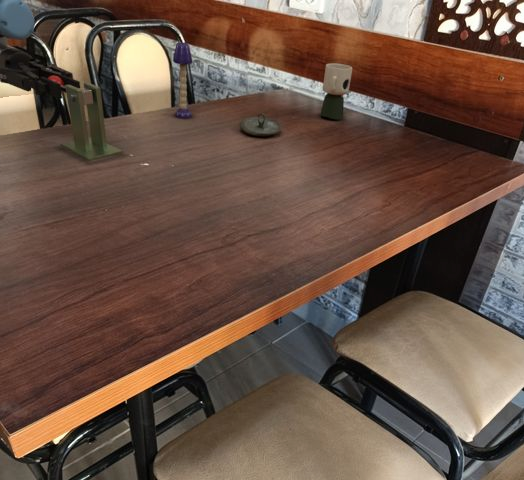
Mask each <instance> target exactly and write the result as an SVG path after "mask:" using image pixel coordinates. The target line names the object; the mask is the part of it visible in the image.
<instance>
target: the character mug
mask: <svg viewBox="0 0 524 480" xmlns="http://www.w3.org/2000/svg"><path fill="white" fill-rule="evenodd" d="M352 75H353V67H352V66H351V65H348V64H343V63H333V62H332V63H326V64H325V70H324V75H323V76H324V77H323V84H322V91H323V92H324V93H326V94H325V95H324V97H323V102H322V105H321V109H320V110H321V111H320V114H319V115H320V116H321V117H325V118H328V119H329V120H341V119H343V117H344V104H345V103H344V102H345V99H344V95H348V94H349V91H350V87H351V80H352Z"/></svg>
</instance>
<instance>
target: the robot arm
mask: <svg viewBox="0 0 524 480" xmlns="http://www.w3.org/2000/svg"><path fill="white" fill-rule="evenodd" d="M35 23H36V21H35V15H34V13H33V11H32V9H31V8H30V6H29V5H28V4H27V3H26V2H25V1H24V0H0V83H3V84H8V85H10V86H12V87H15V88H17V89H20V90H22V91H25V92H31V91H32V89H33V90H34V91H35V92H34V93H35V95H36V96H41V95H43V93H45V94H47V95H49V96H51V97H54V98H56V99H58V100H59V99H60V100H61V99H63V93H61V87H60V84H59V83H57V82H55V81H52V80H50V79H48V78H49V77H50V76H57V77H59V78H61V79H62V81H63V82H64V85H72V86H74V87H76V88H81V81H79V80H77V79H75V78H74V74H73V72H71V71H68V70H66V69H64V68H62V67H59V66H58V65H57V64H55V63H51V64H50V65H48V67H46V65H44V64H43V65H42V64H38V63H37V62H36V61H35V60H34V58H33V57H32V56H31V55H30V54H29V53H27V52H26V51H23V50H21V49H18V48H16V47H14V46H11V45H9V43H8V39H10V40H17V41H23V40H26V39H28V38H29V37H31V35H32V33H33V32H34V30H35Z"/></svg>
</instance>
